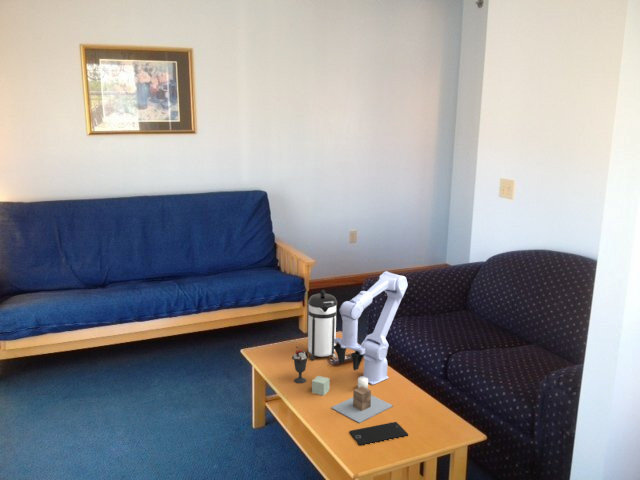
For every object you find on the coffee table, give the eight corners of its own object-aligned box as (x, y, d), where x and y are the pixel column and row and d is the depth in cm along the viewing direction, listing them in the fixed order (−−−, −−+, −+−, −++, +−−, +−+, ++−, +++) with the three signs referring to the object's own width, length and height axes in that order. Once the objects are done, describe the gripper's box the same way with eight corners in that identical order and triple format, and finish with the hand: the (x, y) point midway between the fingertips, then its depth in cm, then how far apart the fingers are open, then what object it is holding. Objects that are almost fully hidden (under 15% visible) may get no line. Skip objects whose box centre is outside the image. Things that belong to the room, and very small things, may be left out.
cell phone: (348, 433, 199) (348, 430, 198) (396, 423, 205) (396, 421, 205) (359, 447, 191) (360, 444, 190) (408, 437, 197) (408, 434, 197)
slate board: (364, 392, 226) (364, 391, 226) (392, 406, 216) (392, 405, 216) (331, 408, 214) (331, 407, 214) (359, 423, 204) (359, 422, 204)
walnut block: (361, 402, 218) (362, 386, 216) (370, 406, 215) (371, 390, 213) (353, 406, 215) (353, 389, 213) (362, 410, 212) (362, 394, 210)
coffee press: (346, 353, 261) (348, 289, 255) (323, 365, 250) (324, 297, 243) (317, 343, 273) (318, 281, 266) (293, 353, 261) (294, 288, 254)
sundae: (289, 382, 233) (289, 347, 230) (296, 375, 239) (296, 341, 236) (304, 385, 231) (304, 350, 228) (311, 378, 237) (311, 343, 234)
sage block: (317, 387, 230) (318, 375, 229) (329, 390, 228) (329, 378, 227) (311, 392, 226) (312, 380, 224) (323, 395, 223) (323, 383, 222)
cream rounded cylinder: (362, 385, 232) (362, 375, 231) (369, 388, 229) (370, 379, 229) (355, 388, 230) (355, 378, 229) (362, 392, 227) (363, 382, 226)
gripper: (329, 329, 226) (328, 362, 229) (356, 340, 215) (355, 375, 218) (342, 325, 230) (341, 357, 233) (369, 336, 220) (368, 370, 223)
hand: (348, 366), depth 226 cm, fingers open, 7 cm apart
